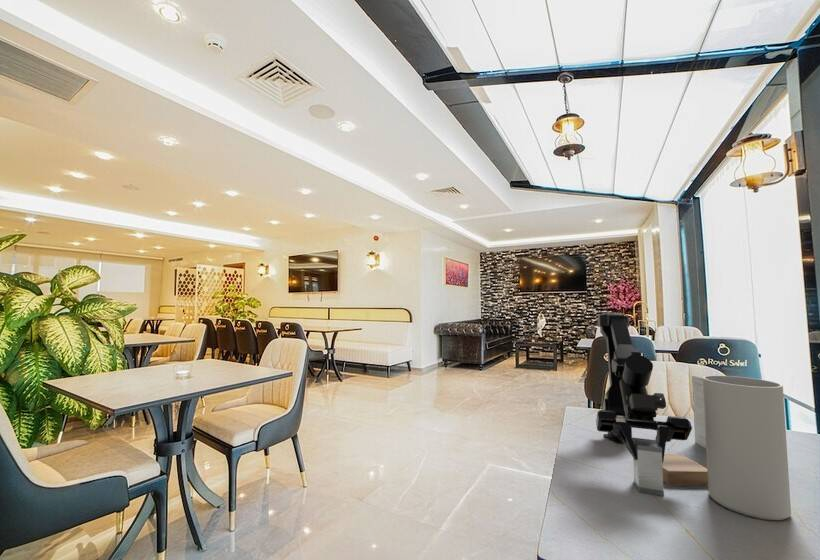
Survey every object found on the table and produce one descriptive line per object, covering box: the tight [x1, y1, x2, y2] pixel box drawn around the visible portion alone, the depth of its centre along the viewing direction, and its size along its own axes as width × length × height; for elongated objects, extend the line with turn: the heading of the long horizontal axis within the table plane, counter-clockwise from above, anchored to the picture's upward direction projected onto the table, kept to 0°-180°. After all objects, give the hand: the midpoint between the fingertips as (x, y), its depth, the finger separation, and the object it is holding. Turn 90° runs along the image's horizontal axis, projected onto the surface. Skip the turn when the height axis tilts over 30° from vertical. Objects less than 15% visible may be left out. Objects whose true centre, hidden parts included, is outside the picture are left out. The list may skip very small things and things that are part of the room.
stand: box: [662, 453, 708, 486], centre depth 89 cm, size 10×10×3 cm
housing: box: [632, 437, 665, 497], centre depth 83 cm, size 5×5×10 cm
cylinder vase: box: [703, 375, 792, 521], centre depth 77 cm, size 12×12×25 cm
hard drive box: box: [691, 375, 706, 449], centre depth 104 cm, size 16×8×20 cm, turn 169°
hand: (648, 460), depth 82 cm, fingers closed on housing, 5 cm apart
